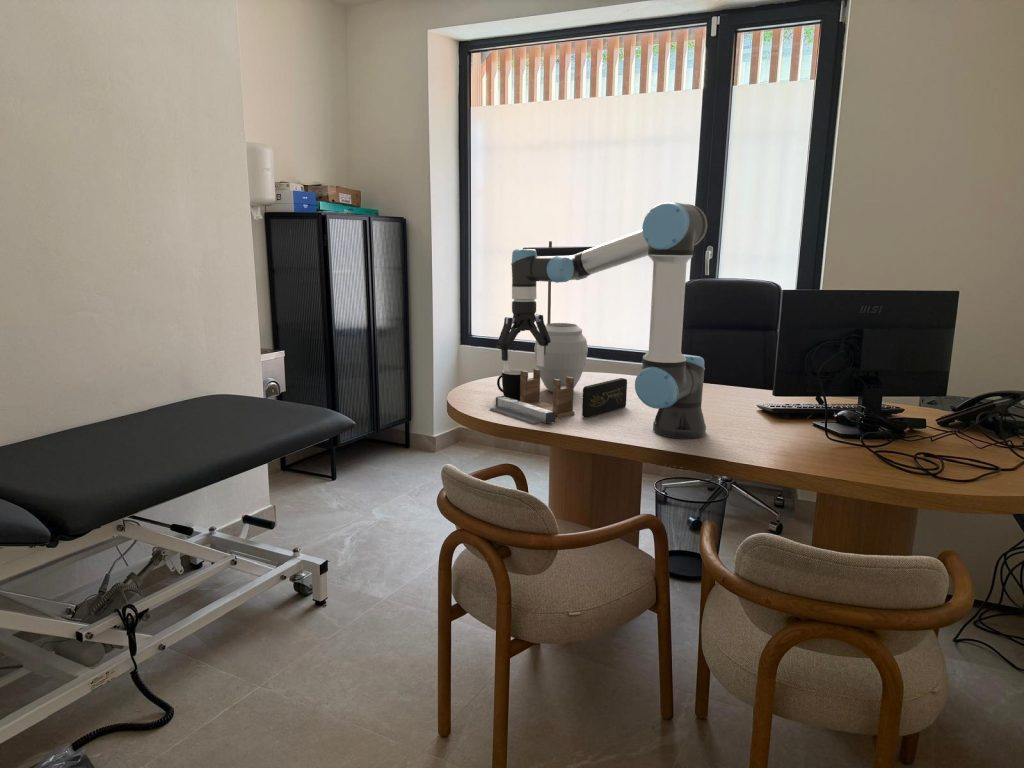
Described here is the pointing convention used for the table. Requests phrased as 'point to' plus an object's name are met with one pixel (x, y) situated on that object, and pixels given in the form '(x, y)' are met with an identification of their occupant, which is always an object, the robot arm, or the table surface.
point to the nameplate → (604, 397)
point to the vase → (563, 354)
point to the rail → (526, 409)
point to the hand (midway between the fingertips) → (524, 368)
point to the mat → (516, 415)
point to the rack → (560, 394)
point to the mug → (510, 383)
